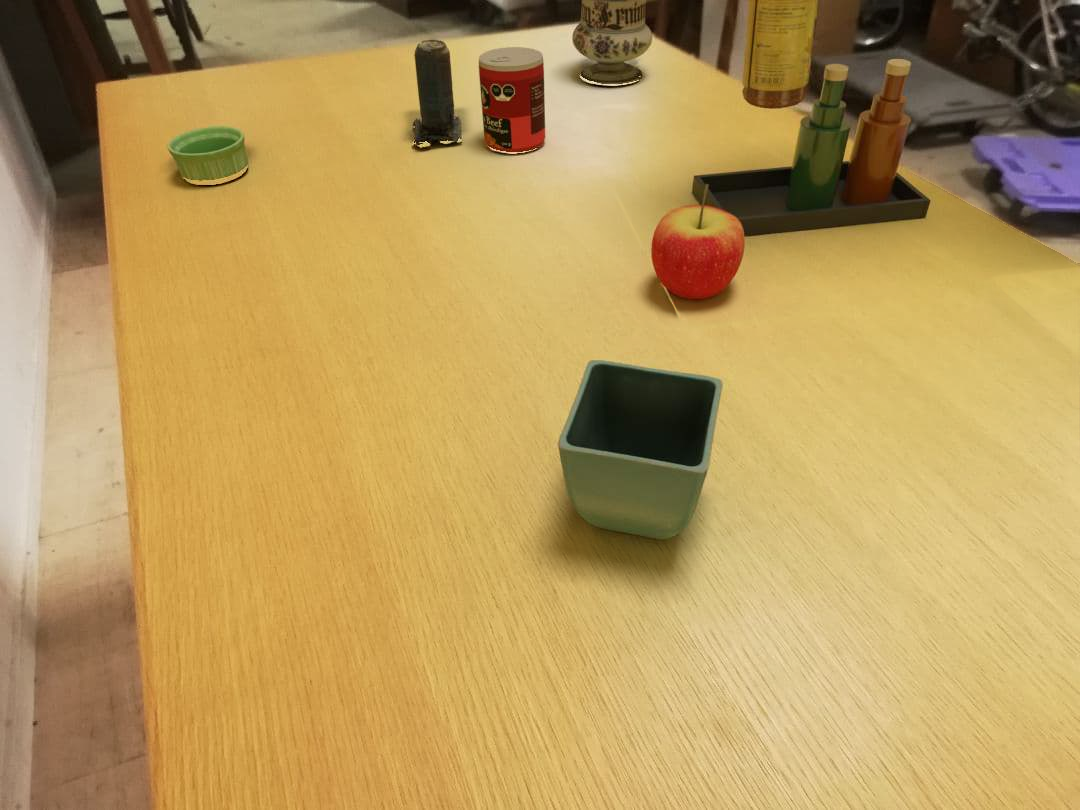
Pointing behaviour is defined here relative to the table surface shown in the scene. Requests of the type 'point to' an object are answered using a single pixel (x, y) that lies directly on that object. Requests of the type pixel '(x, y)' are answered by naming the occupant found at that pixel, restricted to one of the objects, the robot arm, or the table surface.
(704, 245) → the apple
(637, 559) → the table surface
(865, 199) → the amber bottle
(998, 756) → the table surface
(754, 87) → the sauce bottle
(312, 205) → the table surface
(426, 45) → the dark pillar on base
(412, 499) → the table surface
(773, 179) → the tray
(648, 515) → the flower pot
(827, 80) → the green bottle
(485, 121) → the canned food
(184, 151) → the ramekin
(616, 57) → the apothecary jar
